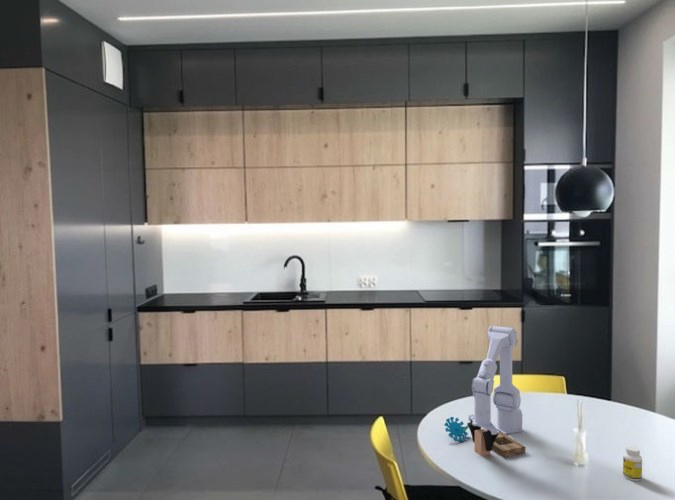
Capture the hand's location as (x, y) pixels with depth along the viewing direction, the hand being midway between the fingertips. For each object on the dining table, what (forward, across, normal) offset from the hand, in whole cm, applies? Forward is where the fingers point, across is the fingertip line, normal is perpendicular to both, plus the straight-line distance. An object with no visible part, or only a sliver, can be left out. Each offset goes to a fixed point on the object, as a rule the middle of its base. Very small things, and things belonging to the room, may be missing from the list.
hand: (482, 446), depth 185 cm
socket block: (+2, -1, +10) cm, 10 cm away
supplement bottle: (+3, +33, +35) cm, 48 cm away
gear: (+3, -14, -1) cm, 15 cm away
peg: (+2, 0, 0) cm, 2 cm away
